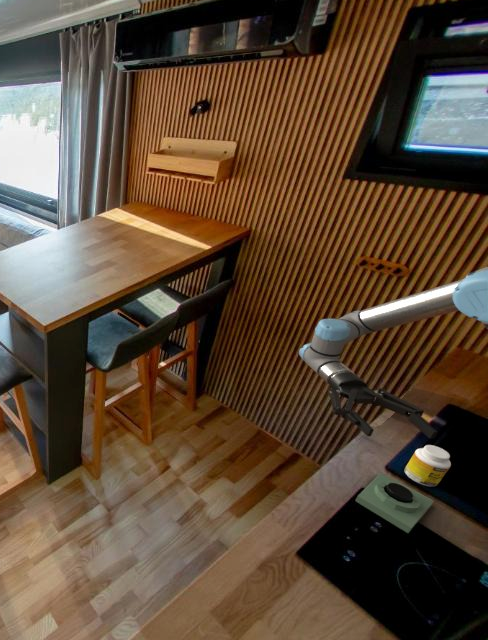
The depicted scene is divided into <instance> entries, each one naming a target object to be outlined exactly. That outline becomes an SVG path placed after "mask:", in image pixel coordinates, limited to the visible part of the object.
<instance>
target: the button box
mask: <svg viewBox="0 0 488 640" xmlns="http://www.w3.org/2000/svg"><path fill="white" fill-rule="evenodd" d="M389 483H396V484H400V485H402V486H404V487H406V488H407V489H409V490H410V491H411V492H412V494H413V498H412V499H411V501H410V502H409V503H403V502H399V501H397V500H395V499H393V498H392V497H390V496H389V495H388V494H387V493H386V491H385V489H386V487H387V485H388V484H389ZM354 501H355V502H356V503H358V504H359V505H361V506H363V507H364V508H365V509H367V510H369V511H370V512H372V513H374V514H376V515H377V516H379V517H381V518H382V519H384V520H385V521H387V522H388V523H390V524H392V525H393V526H395V527H396V528H398V529H400V530H402V531H403V532H405V533H407V534H409V533H410V532H411V531H412V530H413V528H415V526H416V525H417V524H418V522H419V521H420V520H421V519H422V518H423V517H424V515H425V514H426V513H427V512H428V510H429V509H430V508H431V507H432V505H433V504H434V503H435V500H433V499H431V498H430V497H427V496H426V495H424V494H422V493H420V492H418V491H417V490H415V489H413V488H411V487H410V486H407V485H405V484H404V483H402V482H400V481H398V480H396V479H394V478H392V477H391V476H389V475H388V474H387V475H386V474H385V473H383V472H379V473H378V474H377V476H375V478H374V479H372V481H370V482H369V484H368V485H367V486H366V487H365V488H364V489H363V490H362V491H361V492H360V493H359V494H358V495H357V497H356V498H355V500H354Z"/></svg>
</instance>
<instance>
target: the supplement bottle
mask: <svg viewBox="0 0 488 640" xmlns="http://www.w3.org/2000/svg"><path fill="white" fill-rule="evenodd" d="M450 458H451V454H450V453H449V452H448V451H447V450H445V449H443V448H442V447H439V446H436V445H432V444H426V445H425V446H424V447H420V448H417V449H415V451H414V453H413V455H412V456H411V458H410V459H409V461H408V463H407V464H406V465H405V467H404V473H405V475H406V476H407V477H408V479H411V480H412V481H413V482H416V483H417V484H419V485H422V486H426V487H436V486H438V485H439V483H440V482H441V481H442V479H443V478H444V476H445V475H446V474H447V472H448V471H449V470H450V468H451V466H452V463H451V461H450Z"/></svg>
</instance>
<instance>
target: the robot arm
mask: <svg viewBox="0 0 488 640" xmlns="http://www.w3.org/2000/svg"><path fill="white" fill-rule="evenodd" d="M455 312H461V313H462V314H463V315H465V316H466V317H468V318H470V319H475V320H477V321H478V322H481V323H482V324H483V326H484V327H485V328H486V329H487V330H488V266H486V267H483V268H480V269H477V270H474V271H471V272H469V273H467V274H466V275H465V277H464V278H462V279H459V280H455V281H452V282H449V283H446V284H443V285H440V286H436V287H433V288H430V289H426V290H424V291H423V290H422V291H420V292H417V293H413V294H409V295H407V296H404V297H401V298H397V299H394V300H390V301H388V302H383V303H381V304H377V305H375V306H371V307H368V308H364V309H361V310H354V311H351V312H349V313H346V314H344V315H343V316H341V317H340V318H338V319H337V318H323V319H321V320H319V321H318V323H317V325H316V326H315V329H314V334H313V336H312V339H311V342H309V343H306V344H304V345H302V347H300V348H299V351H298V354H299V357H300V358H301V359H302V361H304V363H305V364H306V365H307V366H309V368H311V369H312V370H313V371H314V373H316V374H317V375H318V376H319V377H320V378H321V379H322V380H323V381H324V382H325V383H326V384H327V385H329V388H328V391H327V395H328V397H329V398H330V402H331V408H332V414H334V416H341V418H342V419H343V420H348V421H349V422H350V423H351V424H352V425H354V426H357V428H358V429H359V430H360V431H361V432H362V433H363V434H364V435H365V436H366V437H372V434H373V433H374V431H375V429H374V428H373V427H372V426H371V425H370V424H369V423H368V422H367V421H366V420H365V419H364V418H363V417H362V416H361V415H360V414H359V413H357V411H352V410H353V406H354V403H356V404H359V405H362V404H367V405H373V406H375V407H381V408H384V409H385V410H386V409H387V410H388V411H392V412H394V413H396V414H399V415H401V416H403V417H406V418H407V420H408V421H409V422H410V423H411V424H412V425H413V426H414V427H416V429H418V430H419V431H420V432H422V433H423V434H424V435H425V436H426V437H427V438H428V439H430V440H434V439H435V437H436V436H437V434H438V430H436V429H435V428H434V427H433V426H431V425H430V422H429V421H428V420H426V419H425V418H424V417H423V414H424V412H425V410H424V409H423V408H421V407H419V406H416V405H414V404H413V403H410V402H409V401H406V400H404V399H402V398H400V397H398V396H396V395H394V394H392V393H390V392H389V391H388V390H387V389H385V388H382V387H379V388H378V389H377V390H374V389H372V388H370V387H368V386H367V383H366V381H364V380H363V378H361V377H360V376H359V375H358V374H356V373H355V372H354V371H353V370H352V369H350V367H348V366H347V365H346V364H344V363H343V361H341V359H340V356H341V355H342V352H343V351H344V348H345V346H346V344H349V343H351V342H352V341H354V340H357V339H358V338H360V337H362V336H364V335H368V334H372V333H376V332H379V331H383V330H387V329H391V328H394V327H398V326H399V327H400V326H402V325H406V324H411V323H415V322H419V321H423V320H427V319H431V318H434V317H438V316H443V315H446V314H451V313H455ZM340 397H343V398H344V399H347V400H346V404H345V406H344V408H342V404H341V399H340ZM376 398H377V400H376V401H375V399H376Z"/></svg>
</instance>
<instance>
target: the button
mask: <svg viewBox="0 0 488 640" xmlns="http://www.w3.org/2000/svg"><path fill="white" fill-rule="evenodd" d="M385 491H386V493H387V494H388V495H389V496H390V497H392V498H393V499H395V500H397V501H399V502H403V503H409V502H410V501H411V499H412V498H413V494H412V492H411V491H410V490H409V489H407V488H406V487H404V486H402V485H400V484H396V483H389V484H388V485H387V487H386V489H385Z"/></svg>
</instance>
